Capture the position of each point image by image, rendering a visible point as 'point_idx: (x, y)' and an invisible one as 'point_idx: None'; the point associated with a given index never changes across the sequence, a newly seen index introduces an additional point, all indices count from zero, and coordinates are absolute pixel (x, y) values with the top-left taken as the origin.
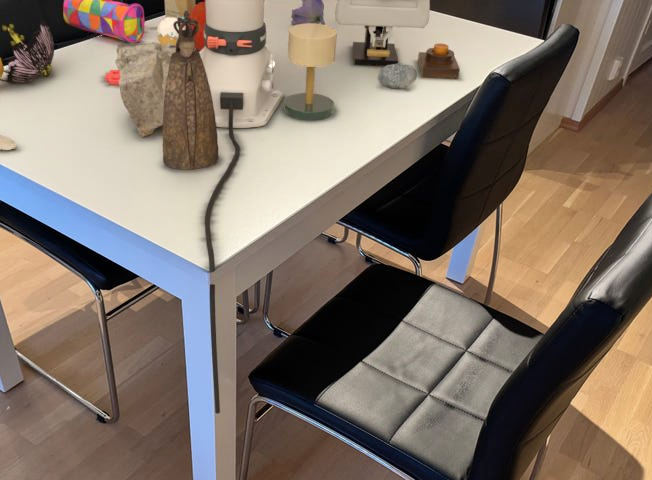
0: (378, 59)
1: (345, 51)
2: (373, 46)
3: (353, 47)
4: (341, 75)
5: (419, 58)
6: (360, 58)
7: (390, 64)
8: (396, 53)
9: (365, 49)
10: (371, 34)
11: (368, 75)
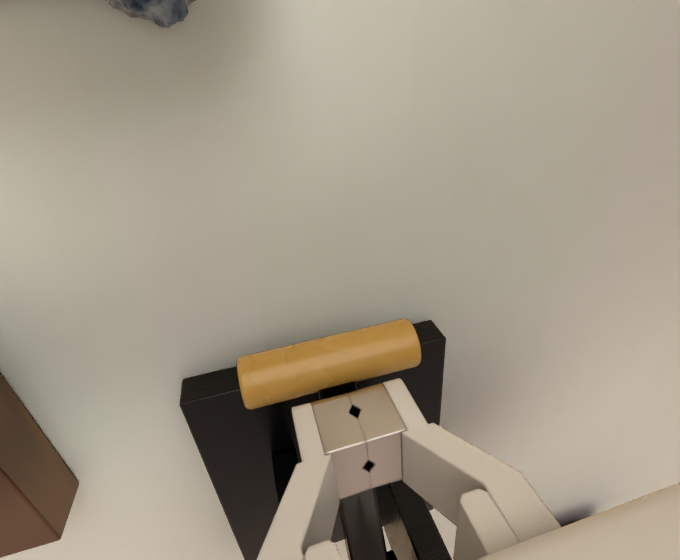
0: None
1: None
2: (389, 381)
3: None
4: (519, 134)
5: (40, 485)
6: None
7: (228, 376)
8: (216, 491)
9: None
10: (470, 451)
11: (351, 184)
